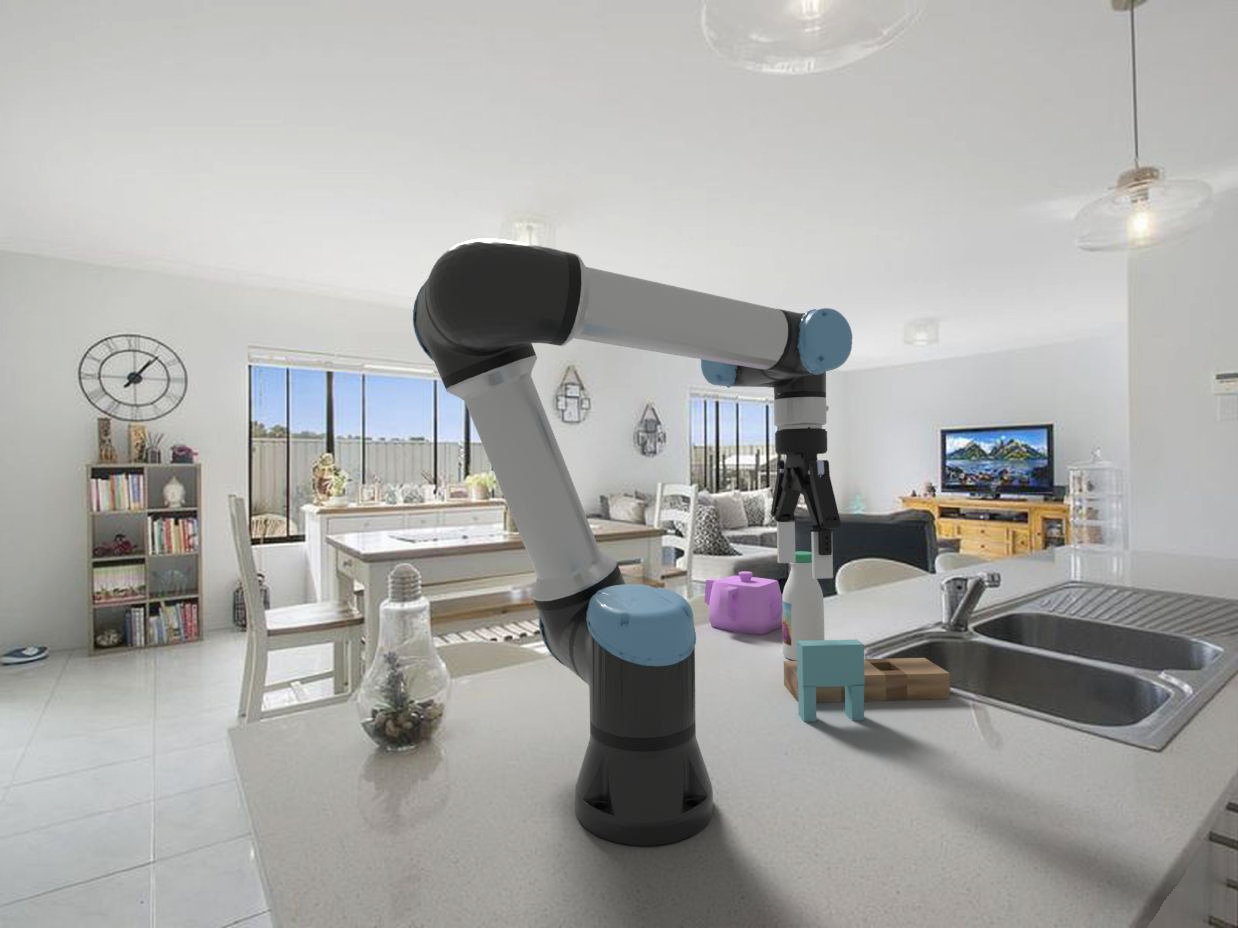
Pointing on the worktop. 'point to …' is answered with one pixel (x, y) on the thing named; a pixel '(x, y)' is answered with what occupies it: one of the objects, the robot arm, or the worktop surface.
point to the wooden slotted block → (885, 681)
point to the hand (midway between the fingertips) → (803, 569)
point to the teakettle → (744, 603)
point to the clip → (830, 674)
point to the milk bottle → (801, 606)
